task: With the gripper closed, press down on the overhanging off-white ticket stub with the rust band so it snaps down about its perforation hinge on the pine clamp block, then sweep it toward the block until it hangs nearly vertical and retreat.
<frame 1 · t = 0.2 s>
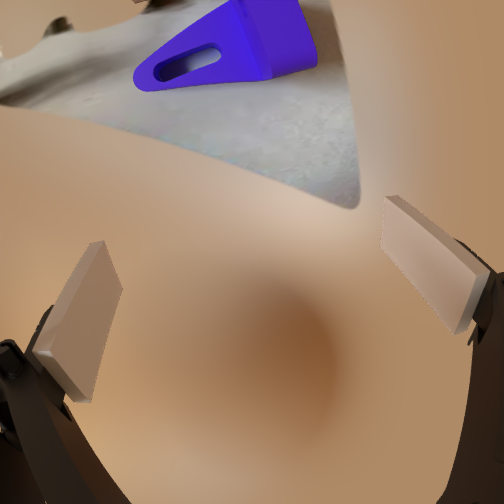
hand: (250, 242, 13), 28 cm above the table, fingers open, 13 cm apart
bracket: (208, 55, 32), on the table
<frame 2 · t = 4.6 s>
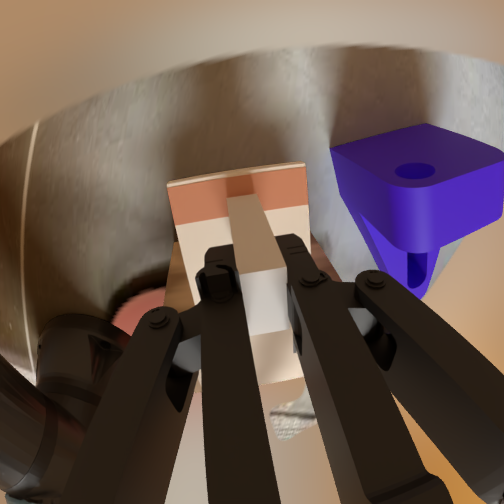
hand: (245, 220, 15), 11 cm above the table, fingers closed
stub: (246, 243, 17), point 10 cm above the table, hinge at 5.7°, touching gripper
clamp block: (245, 272, 30), on the table
bracket: (391, 216, 29), on the table
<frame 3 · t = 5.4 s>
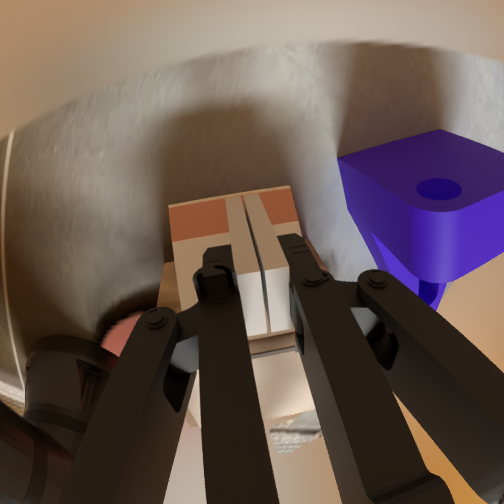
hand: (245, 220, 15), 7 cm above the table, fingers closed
stub: (241, 265, 16), point 8 cm above the table, hinge at 43.4°, touching gripper
clamp block: (243, 293, 27), on the table
bracket: (402, 230, 27), on the table
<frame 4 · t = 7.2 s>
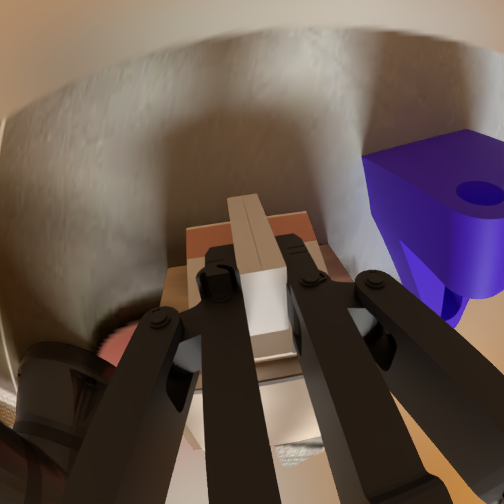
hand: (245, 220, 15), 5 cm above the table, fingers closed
stub: (258, 282, 15), point 7 cm above the table, hinge at 66.5°, touching gripper
clamp block: (254, 303, 24), on the table
bracket: (426, 237, 24), on the table
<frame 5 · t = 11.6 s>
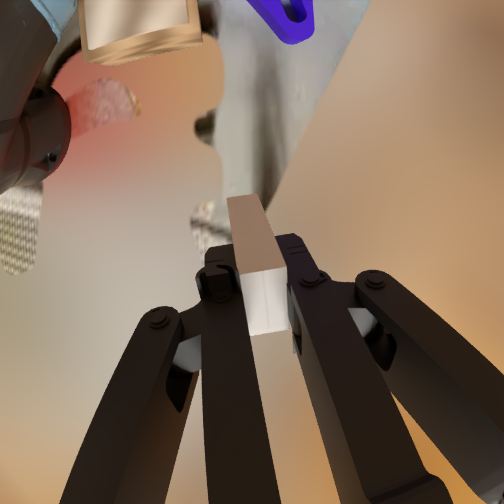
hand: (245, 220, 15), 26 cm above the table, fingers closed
clamp block: (152, 24, 28), on the table
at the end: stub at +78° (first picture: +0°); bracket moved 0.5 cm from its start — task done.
